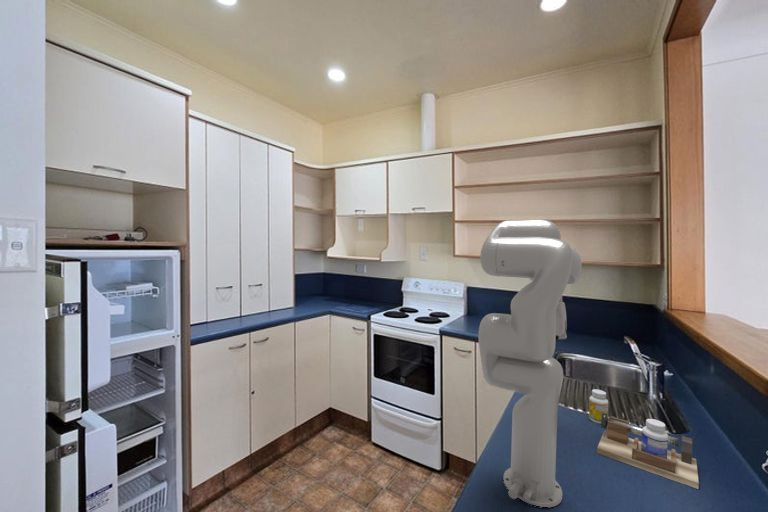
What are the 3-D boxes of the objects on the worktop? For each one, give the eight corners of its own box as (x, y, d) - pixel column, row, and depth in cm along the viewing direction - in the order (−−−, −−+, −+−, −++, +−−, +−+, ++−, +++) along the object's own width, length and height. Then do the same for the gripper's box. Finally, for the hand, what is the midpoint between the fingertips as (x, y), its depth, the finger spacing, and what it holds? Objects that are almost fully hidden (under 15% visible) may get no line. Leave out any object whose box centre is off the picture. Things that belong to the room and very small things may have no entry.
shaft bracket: (698, 489, 79) (699, 460, 79) (597, 453, 92) (597, 428, 92) (695, 464, 88) (697, 438, 88) (604, 435, 102) (605, 412, 102)
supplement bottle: (609, 426, 107) (610, 396, 107) (589, 422, 110) (590, 393, 109) (606, 418, 112) (607, 390, 112) (587, 414, 115) (588, 387, 114)
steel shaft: (678, 454, 87) (679, 438, 87) (600, 430, 98) (601, 415, 98) (678, 447, 90) (679, 431, 90) (603, 424, 102) (603, 410, 102)
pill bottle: (641, 449, 92) (642, 414, 92) (666, 457, 89) (668, 421, 88) (640, 459, 88) (642, 422, 88) (667, 468, 84) (669, 429, 84)
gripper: (520, 295, 107) (518, 351, 108) (572, 300, 98) (570, 363, 98) (528, 293, 113) (526, 347, 113) (578, 298, 103) (576, 357, 104)
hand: (546, 354), depth 106 cm, fingers closed
